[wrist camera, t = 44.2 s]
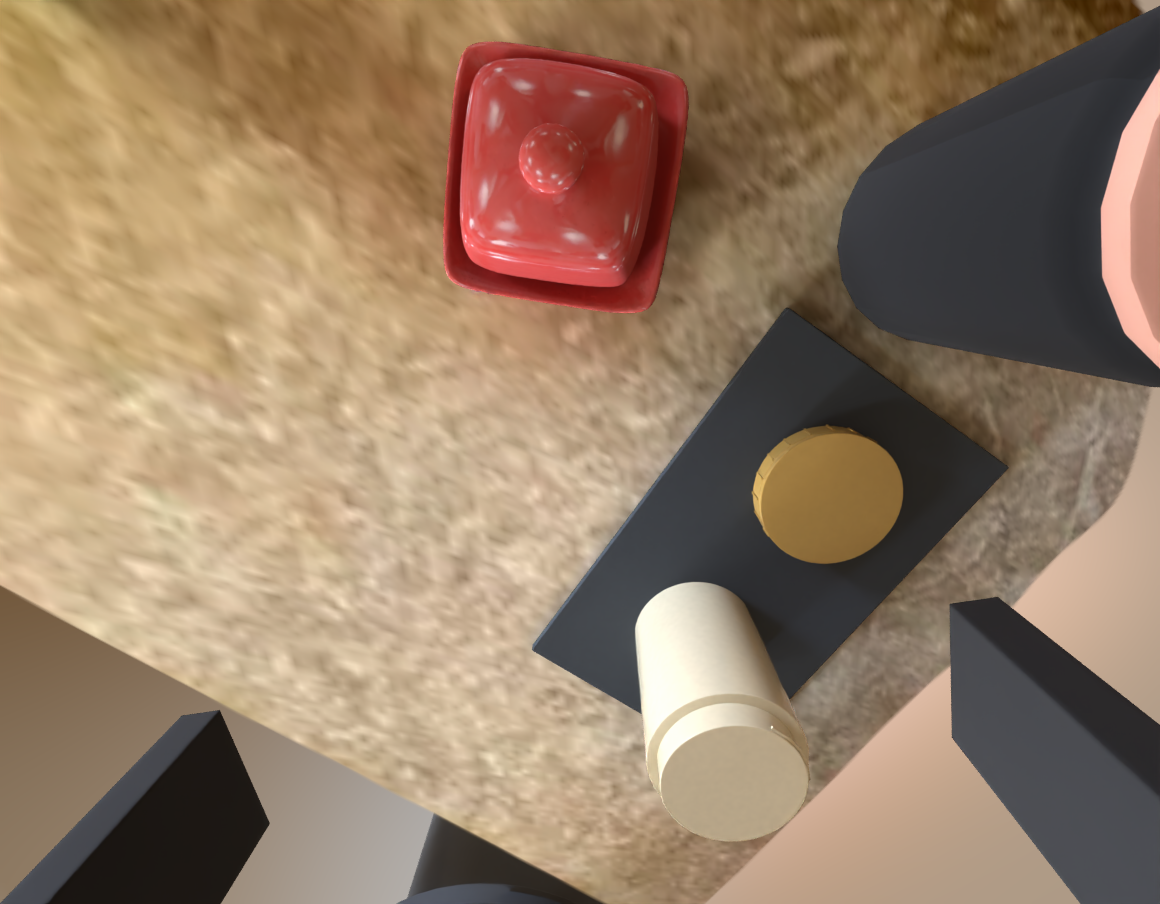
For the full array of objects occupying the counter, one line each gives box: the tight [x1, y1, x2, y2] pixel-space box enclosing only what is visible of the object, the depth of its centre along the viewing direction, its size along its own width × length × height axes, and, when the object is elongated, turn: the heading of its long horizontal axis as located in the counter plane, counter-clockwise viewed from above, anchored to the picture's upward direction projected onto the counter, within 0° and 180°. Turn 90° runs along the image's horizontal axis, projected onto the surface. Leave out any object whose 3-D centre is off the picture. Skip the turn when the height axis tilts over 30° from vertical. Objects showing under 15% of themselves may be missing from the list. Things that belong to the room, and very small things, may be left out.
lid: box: [752, 424, 903, 564], centre depth 33 cm, size 8×8×2 cm
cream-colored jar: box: [635, 582, 810, 842], centre depth 31 cm, size 8×8×11 cm
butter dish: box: [443, 42, 689, 313], centre depth 26 cm, size 12×12×8 cm
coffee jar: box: [837, 6, 1160, 387], centre depth 21 cm, size 11×11×18 cm
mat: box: [532, 308, 1009, 714], centre depth 35 cm, size 26×16×1 cm, turn 147°
